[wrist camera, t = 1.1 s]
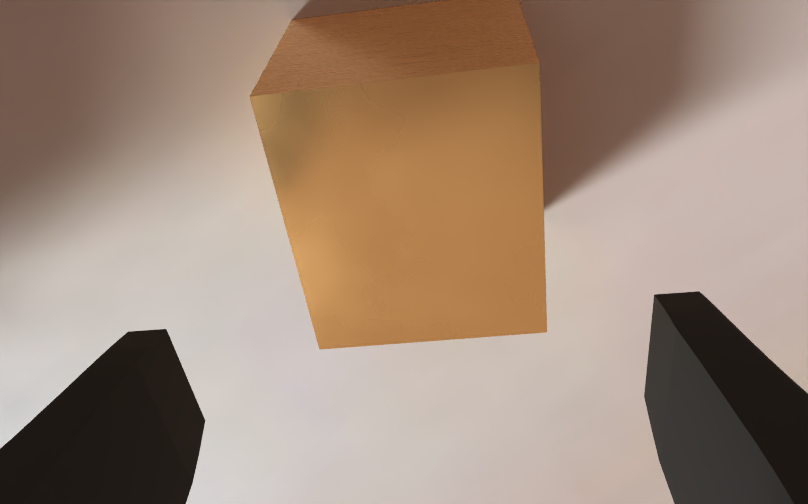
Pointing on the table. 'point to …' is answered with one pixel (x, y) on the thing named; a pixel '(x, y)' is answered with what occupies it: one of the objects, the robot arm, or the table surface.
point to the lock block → (410, 170)
